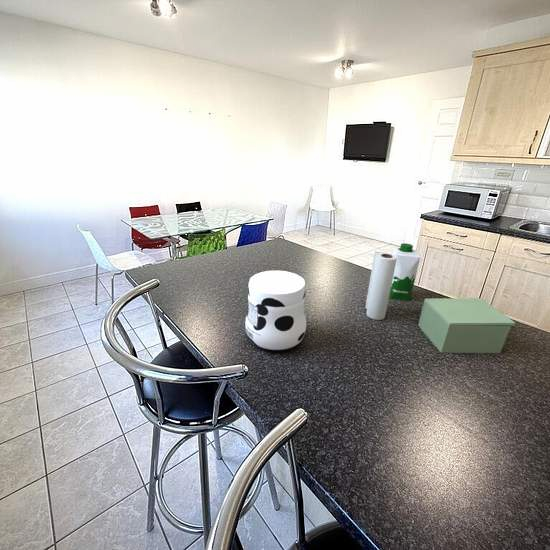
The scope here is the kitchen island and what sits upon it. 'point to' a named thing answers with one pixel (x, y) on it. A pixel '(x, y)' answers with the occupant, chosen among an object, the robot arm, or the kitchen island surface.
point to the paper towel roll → (380, 284)
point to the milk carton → (404, 272)
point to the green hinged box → (462, 334)
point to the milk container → (276, 310)
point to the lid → (468, 312)
